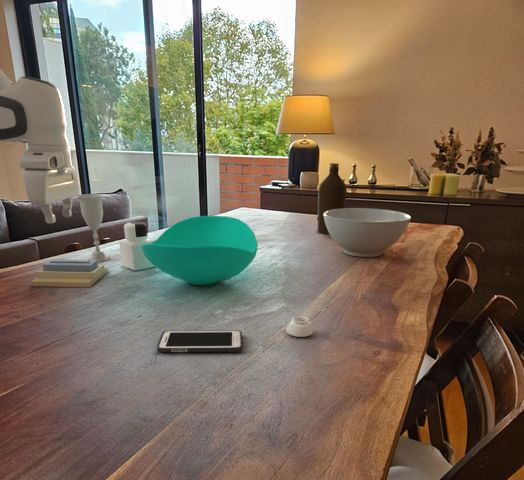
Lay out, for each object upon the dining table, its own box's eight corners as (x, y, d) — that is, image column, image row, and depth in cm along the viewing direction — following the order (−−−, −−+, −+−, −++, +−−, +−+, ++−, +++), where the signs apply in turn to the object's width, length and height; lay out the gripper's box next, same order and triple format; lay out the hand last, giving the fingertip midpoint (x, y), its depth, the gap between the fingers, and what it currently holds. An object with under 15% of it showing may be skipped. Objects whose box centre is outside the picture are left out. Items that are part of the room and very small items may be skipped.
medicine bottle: (143, 261, 134) (139, 219, 129) (157, 266, 129) (153, 223, 124) (121, 266, 129) (116, 222, 124) (134, 271, 125) (130, 226, 120)
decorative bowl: (376, 241, 164) (380, 206, 158) (422, 259, 141) (429, 219, 136) (308, 246, 156) (310, 209, 151) (344, 265, 133) (348, 223, 128)
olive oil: (348, 231, 180) (354, 163, 169) (334, 235, 172) (339, 164, 162) (324, 228, 186) (329, 162, 175) (310, 232, 178) (314, 163, 168)
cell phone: (242, 352, 79) (242, 347, 78) (156, 353, 78) (155, 348, 78) (241, 334, 86) (241, 330, 85) (163, 335, 85) (162, 330, 85)
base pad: (32, 286, 112) (30, 275, 110) (56, 270, 124) (55, 260, 123) (90, 287, 111) (88, 276, 110) (109, 271, 124) (107, 261, 123)
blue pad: (44, 276, 115) (42, 263, 114) (53, 270, 120) (51, 258, 118) (91, 277, 115) (90, 264, 114) (98, 271, 120) (97, 259, 118)
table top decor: (171, 260, 136) (168, 214, 131) (263, 263, 134) (264, 217, 128) (122, 304, 100) (115, 243, 95) (247, 310, 98) (247, 248, 93)
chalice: (106, 262, 132) (97, 197, 125) (83, 262, 133) (72, 197, 125) (114, 256, 139) (106, 194, 131) (91, 256, 139) (82, 194, 131)
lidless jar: (317, 332, 87) (296, 326, 90) (318, 318, 86) (297, 312, 89) (302, 340, 84) (281, 333, 87) (303, 326, 83) (281, 319, 86)
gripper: (56, 156, 115) (64, 212, 121) (14, 160, 97) (26, 226, 103) (81, 157, 115) (88, 213, 121) (44, 161, 97) (54, 227, 103)
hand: (59, 219), depth 112 cm, fingers open, 8 cm apart
